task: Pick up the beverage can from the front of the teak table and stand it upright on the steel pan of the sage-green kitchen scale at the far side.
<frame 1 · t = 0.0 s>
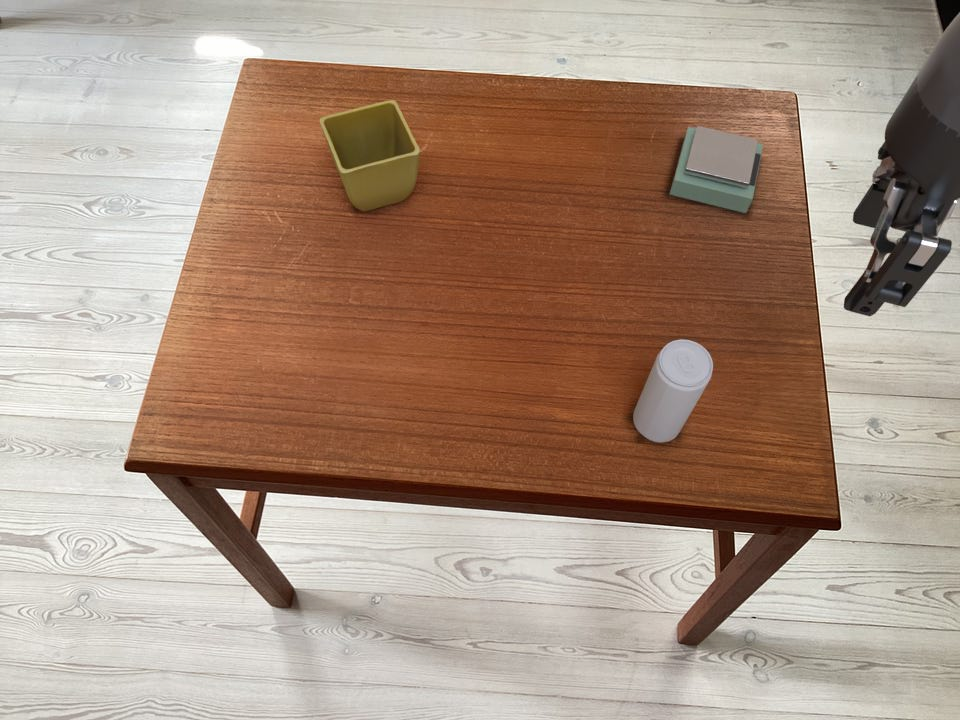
hand: (861, 264, 58), 22 cm above the table, tool pointing down, fingers open, 8 cm apart
beverage can: (656, 423, 76), on the table
scale: (713, 176, 92), on the table
scale pan: (721, 156, 89), point 3 cm above the table, slide at 0.0 cm
flower pot: (377, 193, 90), on the table
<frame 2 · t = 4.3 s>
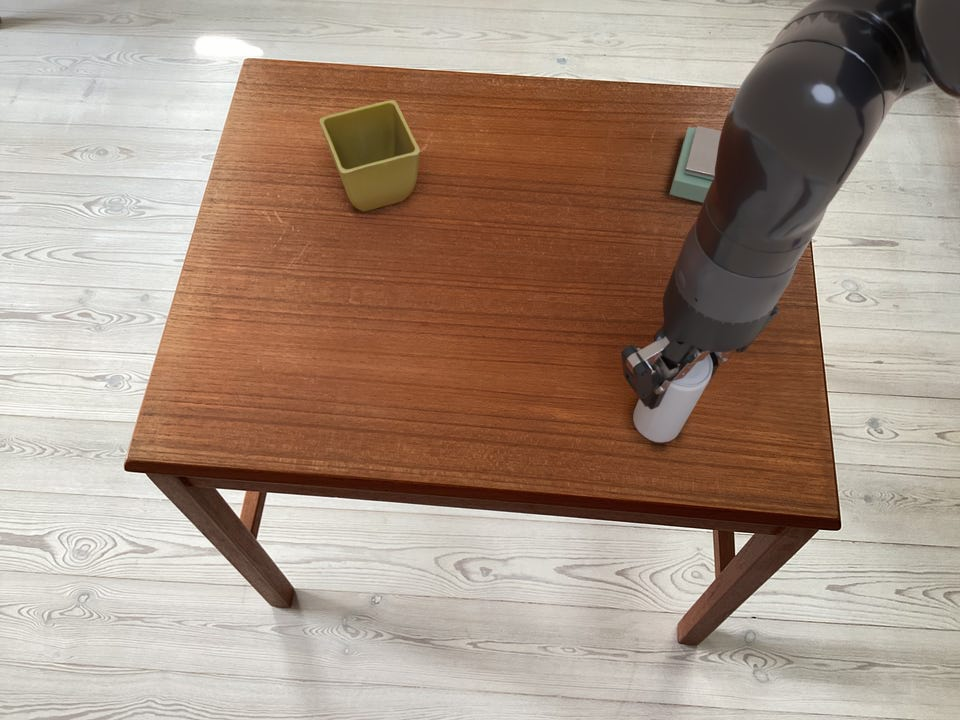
hand: (673, 387, 69), 7 cm above the table, tool pointing down, fingers closed on beverage can, 5 cm apart
beverage can: (656, 423, 76), on the table, touching gripper
everything else where it was.
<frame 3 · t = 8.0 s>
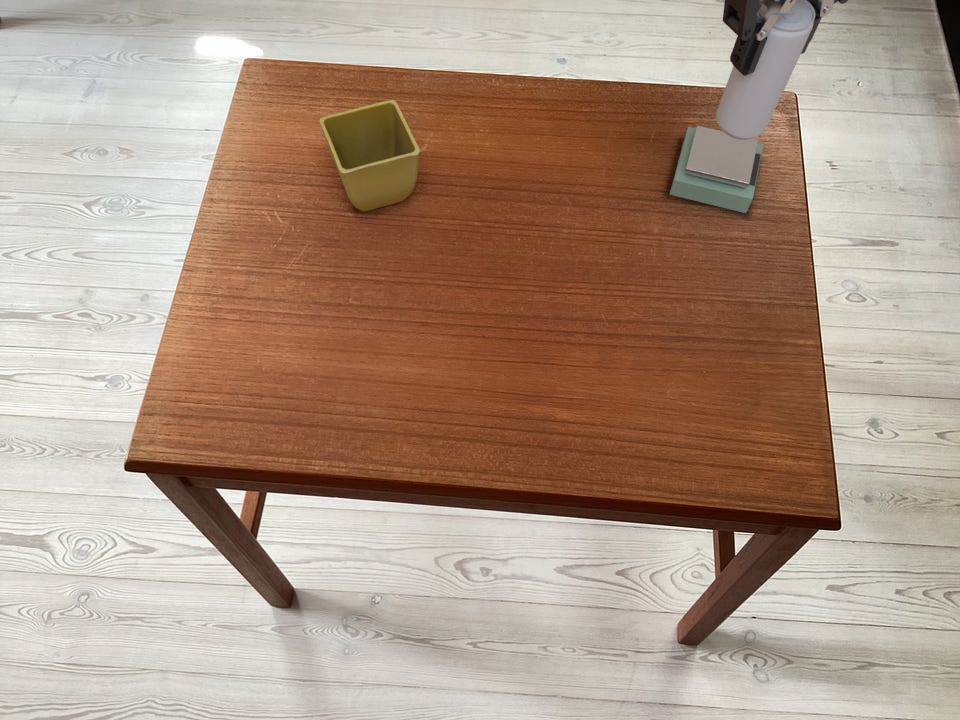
hand: (767, 58, 65), 25 cm above the table, tool pointing down, fingers closed on beverage can, 5 cm apart
beverage can: (739, 125, 72), point 17 cm above the table, touching gripper
everything else where it was.
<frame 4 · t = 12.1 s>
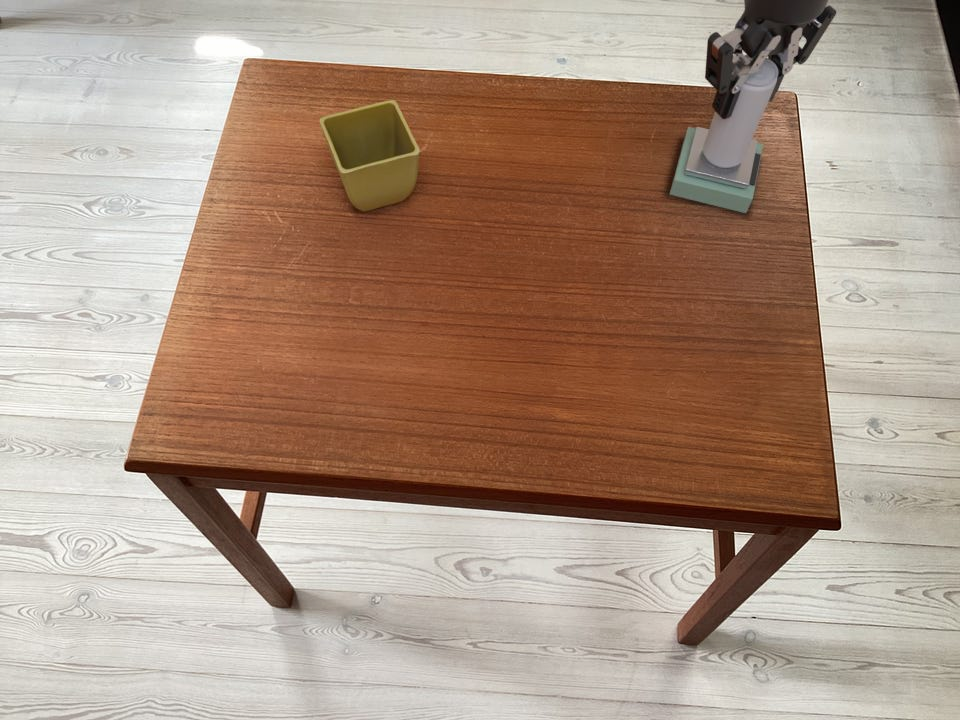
hand: (742, 105, 82), 11 cm above the table, tool pointing down, fingers closed on beverage can, 4 cm apart
beverage can: (721, 156, 89), point 3 cm above the table, touching gripper, scale pan
scale pan: (721, 157, 89), point 3 cm above the table, slide at -0.1 cm, touching beverage can
everything else where it was.
when the fingers open (11 cm above the table, at t = 12.2 s): beverage can stays where it is, resting on scale pan.
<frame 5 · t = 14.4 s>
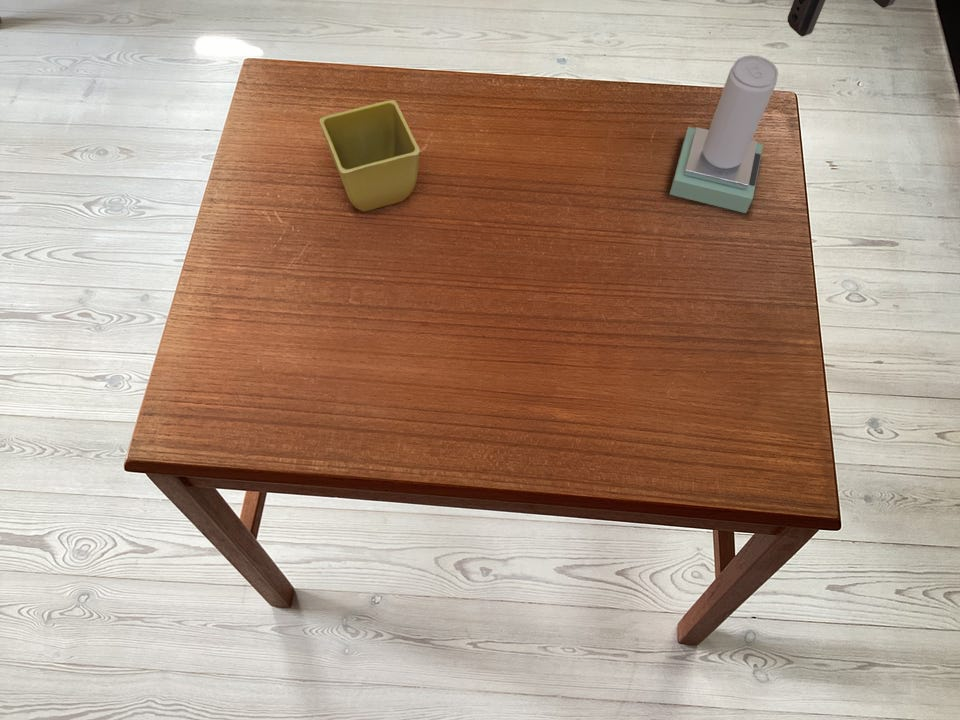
hand: (839, 15, 64), 27 cm above the table, tool pointing down, fingers open, 8 cm apart
beverage can: (721, 157, 89), point 3 cm above the table, touching scale pan
scale pan: (721, 157, 89), point 3 cm above the table, slide at -0.2 cm, touching beverage can, scale
everything else where it was.
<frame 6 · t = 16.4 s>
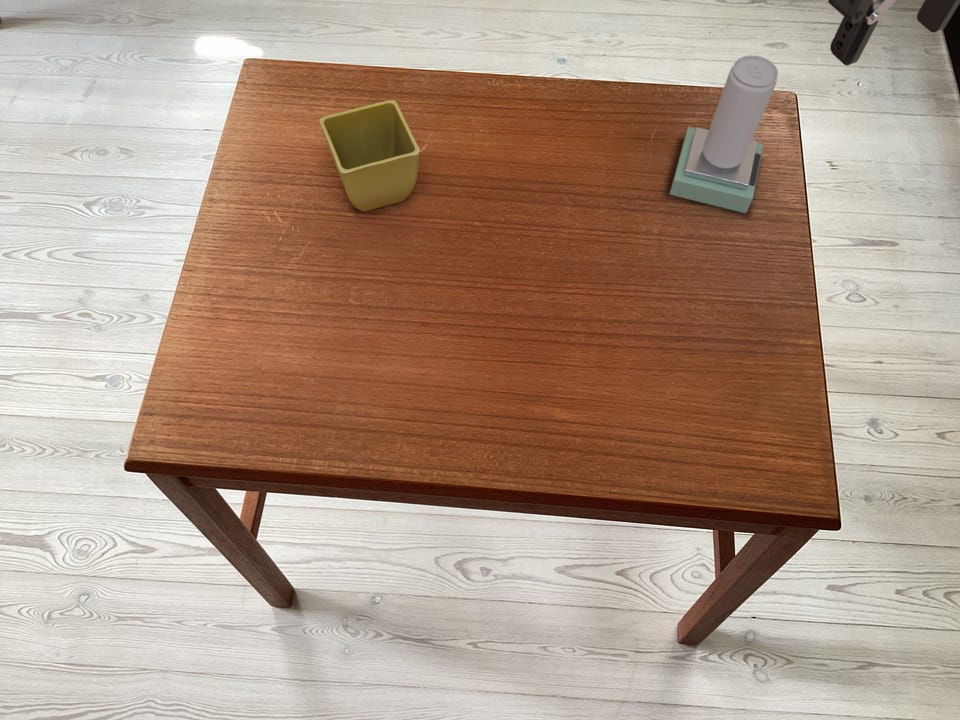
hand: (886, 41, 58), 30 cm above the table, tool pointing down, fingers open, 8 cm apart
nothing on the table moved.
at the end: beverage can 0.1 cm off-centre on the scale, point 3.3 cm above the scale's base; beverage can tilted 0°; the gripper is holding nothing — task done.
